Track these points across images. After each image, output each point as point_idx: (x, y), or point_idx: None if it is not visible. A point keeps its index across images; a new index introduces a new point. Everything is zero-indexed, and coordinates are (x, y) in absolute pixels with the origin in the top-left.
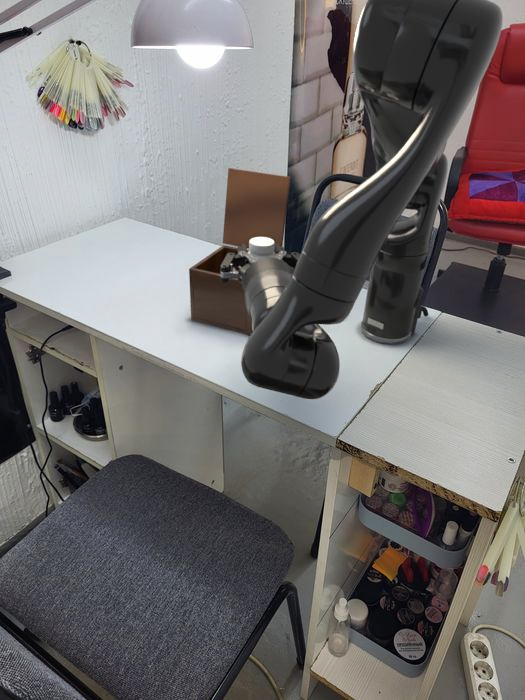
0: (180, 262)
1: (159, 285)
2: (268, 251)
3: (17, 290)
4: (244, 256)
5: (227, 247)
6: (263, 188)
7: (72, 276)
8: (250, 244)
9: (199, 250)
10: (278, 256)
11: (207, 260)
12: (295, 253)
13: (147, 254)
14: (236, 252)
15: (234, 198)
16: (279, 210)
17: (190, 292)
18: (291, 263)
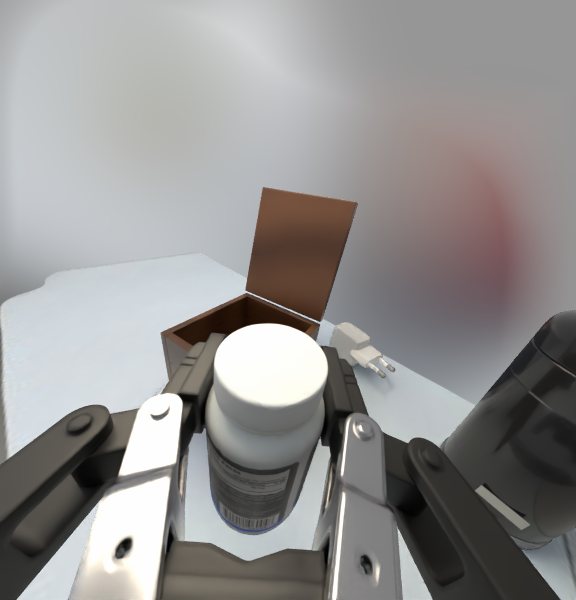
0: (219, 297)
1: (177, 323)
2: (293, 425)
3: (8, 308)
4: (103, 506)
5: (250, 297)
6: (309, 219)
7: (95, 298)
8: (214, 368)
9: (243, 287)
10: (362, 578)
11: (208, 316)
12: (438, 466)
13: (194, 284)
14: (260, 305)
15: (266, 232)
16: (330, 256)
17: (166, 366)
18: (401, 499)
